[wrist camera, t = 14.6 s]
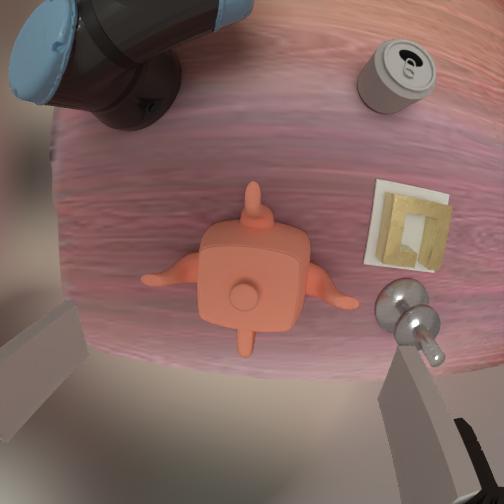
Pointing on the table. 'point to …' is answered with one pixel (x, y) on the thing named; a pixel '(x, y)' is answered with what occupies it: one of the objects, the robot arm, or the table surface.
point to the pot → (253, 274)
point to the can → (397, 76)
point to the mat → (412, 221)
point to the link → (393, 229)
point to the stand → (410, 317)
